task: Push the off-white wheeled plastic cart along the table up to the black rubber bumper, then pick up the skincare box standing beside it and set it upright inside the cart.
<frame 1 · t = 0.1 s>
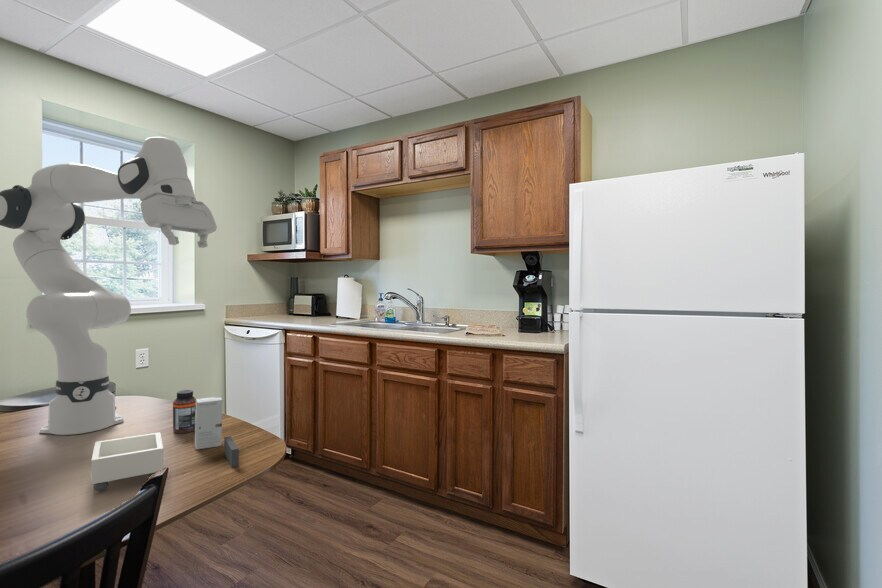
hand: (189, 245, 118), 52 cm above the table, tool tilted 20°, fingers open, 8 cm apart
supplement bottle: (185, 431, 128), on the table
skincare box: (208, 446, 117), on the table
bumper: (231, 459, 108), on the table
cart: (128, 461, 96), point 4 cm above the table, slide at 0.0 cm
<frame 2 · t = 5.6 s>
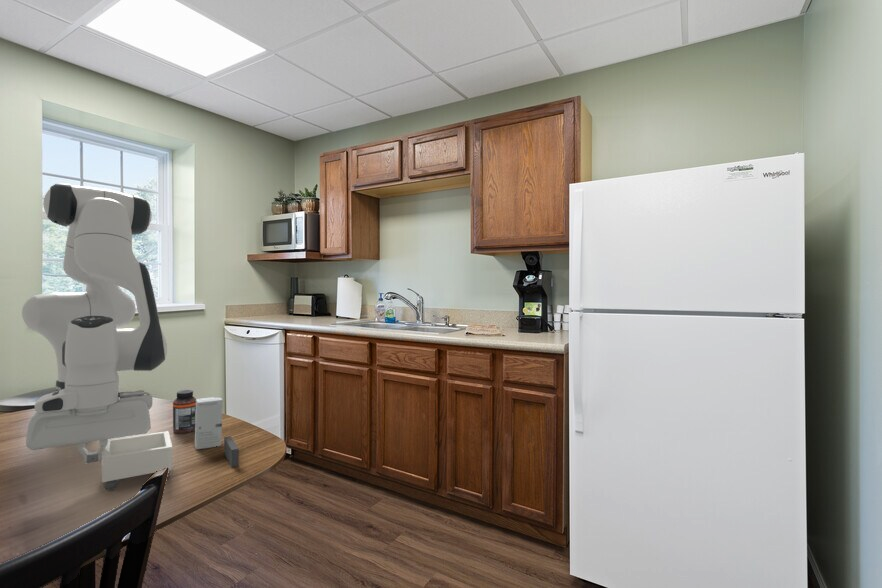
hand: (92, 461, 93), 5 cm above the table, tool pointing down, fingers closed
cart: (138, 459, 97), point 4 cm above the table, slide at 1.7 cm, touching gripper
everything else where it was.
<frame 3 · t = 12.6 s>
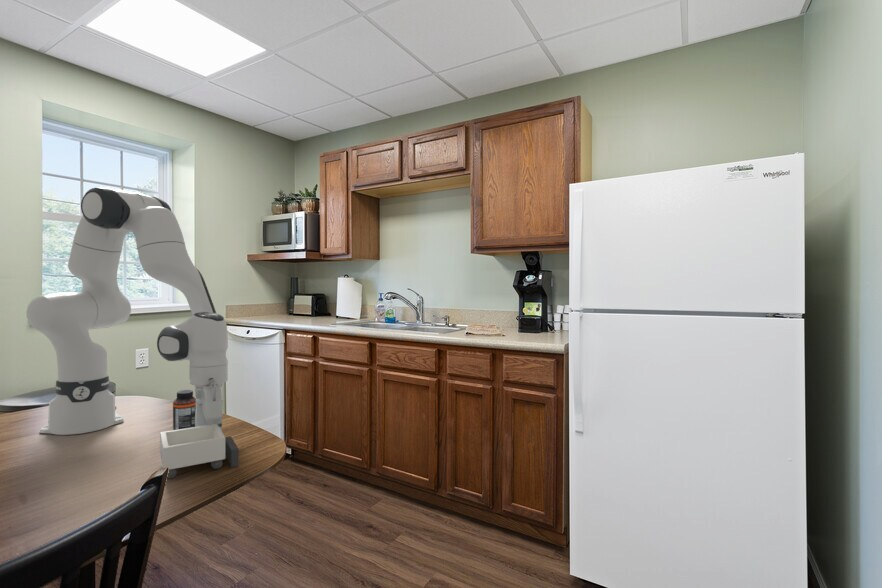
hand: (208, 428, 117), 5 cm above the table, tool pointing down, fingers closed on skincare box, 4 cm apart
skincare box: (208, 446, 117), on the table, touching gripper
cart: (192, 450, 103), point 4 cm above the table, slide at 12.0 cm
everything else where it was.
when the fingers open (10 cm above the table, at t = 18.2 s): skincare box stays where it is, resting on cart.
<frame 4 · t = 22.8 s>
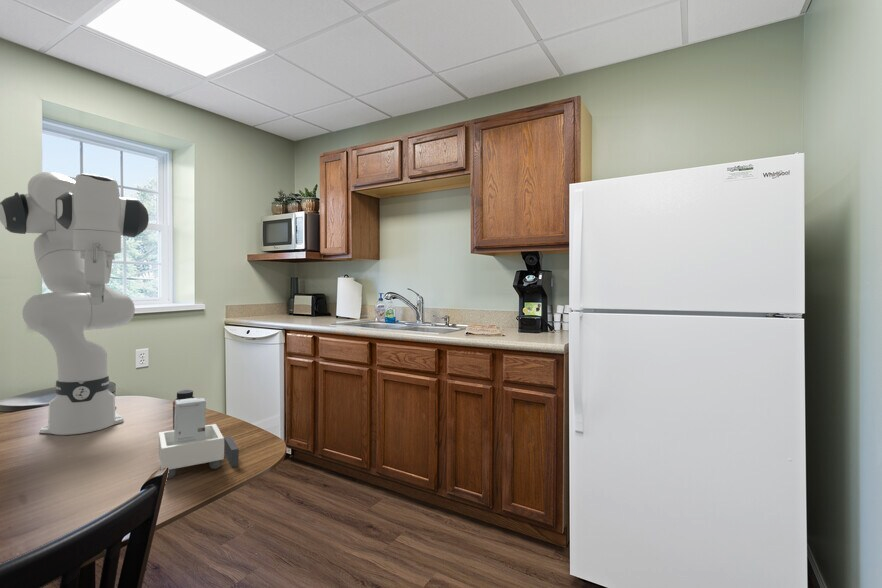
hand: (97, 303, 105), 37 cm above the table, tool pointing down, fingers open, 8 cm apart
skincare box: (189, 453, 103), point 3 cm above the table, touching cart
cart: (190, 450, 103), point 4 cm above the table, slide at 11.7 cm, touching skincare box
everything else where it was.
at the end: cart slide at 11.7 cm; skincare box inside the target area (0.5 cm from its centre), point 3.2 cm above the table; skincare box tilted 0° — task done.
